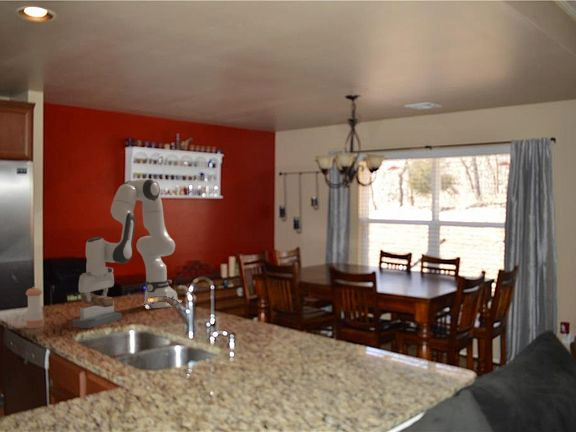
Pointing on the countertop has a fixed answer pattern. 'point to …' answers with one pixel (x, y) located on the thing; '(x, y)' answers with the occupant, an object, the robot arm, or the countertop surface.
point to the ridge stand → (96, 316)
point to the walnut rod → (98, 300)
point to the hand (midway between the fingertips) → (97, 299)
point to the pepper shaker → (34, 308)
